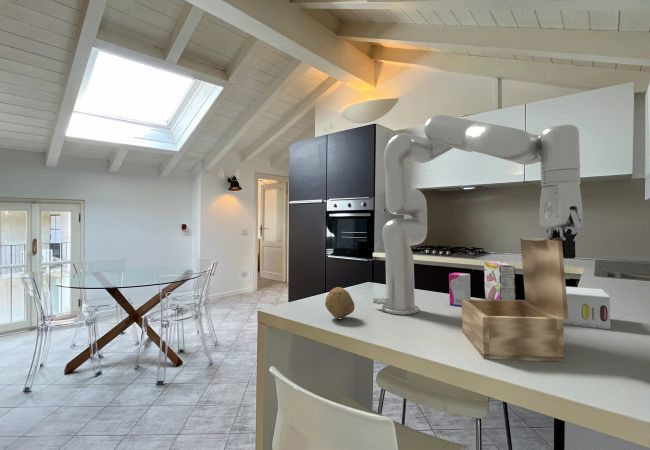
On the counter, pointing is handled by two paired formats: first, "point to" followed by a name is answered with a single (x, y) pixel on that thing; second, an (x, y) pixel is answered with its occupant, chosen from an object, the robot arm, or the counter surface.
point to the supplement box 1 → (459, 288)
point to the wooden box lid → (544, 274)
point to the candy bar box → (499, 281)
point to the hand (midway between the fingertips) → (561, 256)
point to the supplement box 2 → (587, 307)
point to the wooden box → (513, 330)
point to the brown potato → (339, 302)
